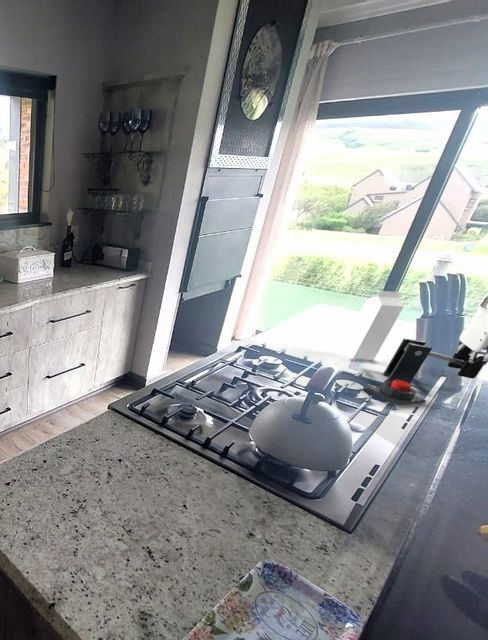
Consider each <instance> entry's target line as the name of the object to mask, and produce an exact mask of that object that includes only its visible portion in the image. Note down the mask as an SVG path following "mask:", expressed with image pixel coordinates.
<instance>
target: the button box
mask: <svg viewBox="0 0 488 640" xmlns="http://www.w3.org/2000/svg"><path fill="white" fill-rule="evenodd" d="M391 384H392V382H391V381H387V380H386V381H384V382H383V383H382V385H374V386H372V385H371V386H366V388H365V390H366V391H368V392H369V393H372V394H373V395H375V396H376V397H379V398H381V399H384V400H385V401H387V402H389V403H391V404H393V405H395V406H398V407H399V406H407V405H409V406H410V405H415V404H416V405H417V404H424V403H426V402H427V399H425V398H423V397H421V396H418V395H416V394H417V391H416V390H415V389H414V388H413V387H412V386H411V387H410V388H409V390H408V391H407V392H406V391H400V390H397V389H395V388H393V387H391ZM390 409H392V410H393V411H398V409H397V408H392V407H391V408H390Z"/></svg>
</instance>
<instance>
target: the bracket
mask: <svg viewBox="0 0 488 640" xmlns="http://www.w3.org/2000/svg"><path fill="white" fill-rule="evenodd" d="M409 342H411V343H414V344H410V343H409ZM408 344H409V345H408ZM416 344H418V345H416ZM426 344H427V342H426V341H425V340H424V341H423V340H419V339H418V340H417V339H411V338H405V337H403V339H402V340H401V342H400V344H399V346H398V348H397V349H396V351H395V353H394V354H393V356H392V358H391V359H390V361H389V363H388V364H387V366H386V368H385V370H384V372H383V373H382V375H383V376H384V377H388V378H387V380H386V382H387V381H391V382H393V381H394V380H402V381H405V382H408V383H409V384H411V383H412V381H413V380H414V378H415V376H416V375H417V373H418V372H419V370H420V369H421V367H422V365H423V364H424V362H425V361H426V360H427V357H429V356H428V354H429V353H430V351H431V352H432V350H433V347H432V346H427V345H426ZM407 345H408V347H407V348H406V350H405V351H404V349H405V347H406V346H407Z"/></svg>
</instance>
